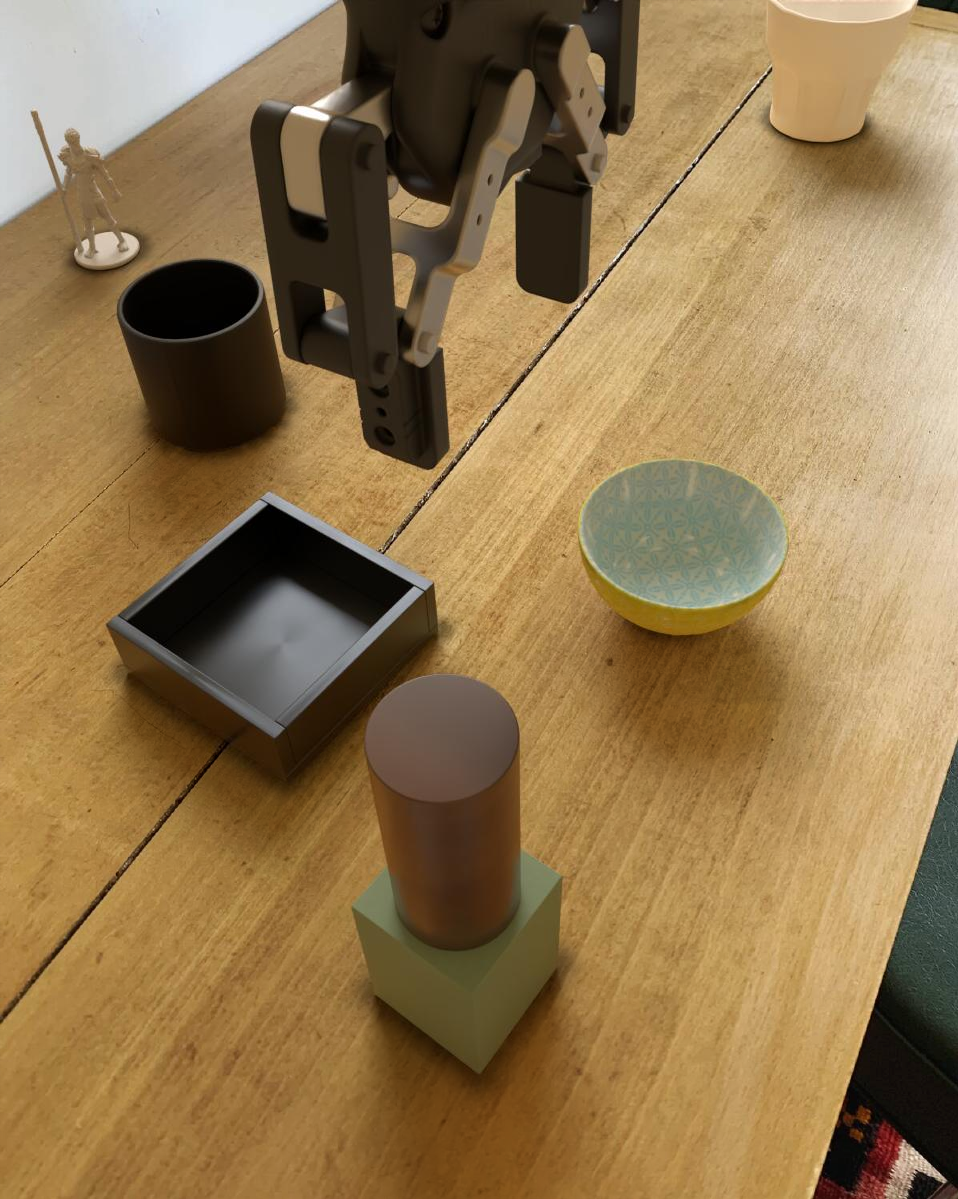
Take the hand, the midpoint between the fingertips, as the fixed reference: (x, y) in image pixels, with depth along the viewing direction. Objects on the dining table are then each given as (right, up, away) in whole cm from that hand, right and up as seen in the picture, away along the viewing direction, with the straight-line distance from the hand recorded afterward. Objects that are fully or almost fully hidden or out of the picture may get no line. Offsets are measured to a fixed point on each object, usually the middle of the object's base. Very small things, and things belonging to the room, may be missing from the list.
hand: (485, 368), depth 33 cm
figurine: (-31, +22, +59) cm, 70 cm away
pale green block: (-1, -24, +18) cm, 30 cm away
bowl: (+11, -7, +32) cm, 35 cm away
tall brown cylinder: (-1, -18, +11) cm, 21 cm away
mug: (-19, +7, +45) cm, 50 cm away
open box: (-11, -10, +31) cm, 34 cm away
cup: (+31, +37, +69) cm, 84 cm away
